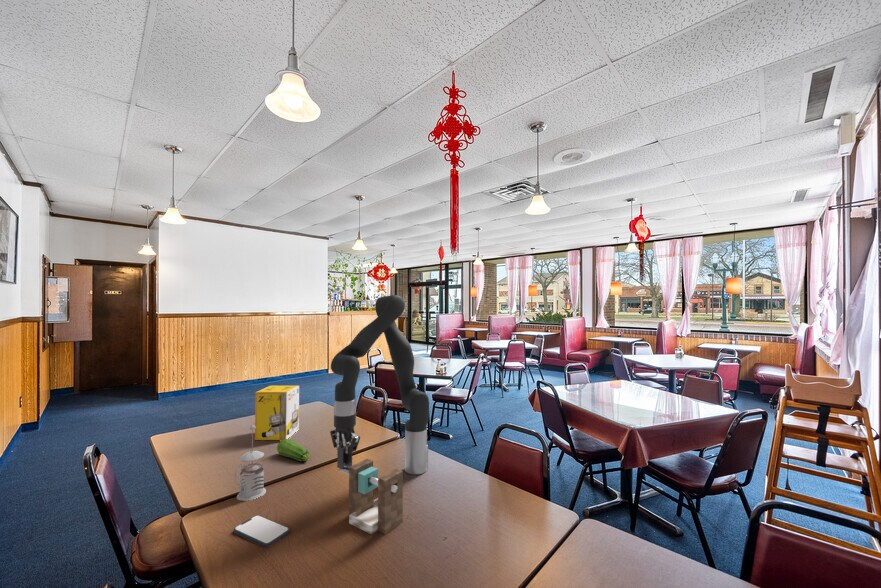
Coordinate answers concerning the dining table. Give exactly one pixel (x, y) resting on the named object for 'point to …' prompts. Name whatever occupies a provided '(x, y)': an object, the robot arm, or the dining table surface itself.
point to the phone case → (261, 531)
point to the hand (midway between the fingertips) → (344, 461)
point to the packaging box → (276, 412)
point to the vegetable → (292, 450)
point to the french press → (247, 489)
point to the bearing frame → (375, 501)
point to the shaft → (345, 467)
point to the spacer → (366, 480)
